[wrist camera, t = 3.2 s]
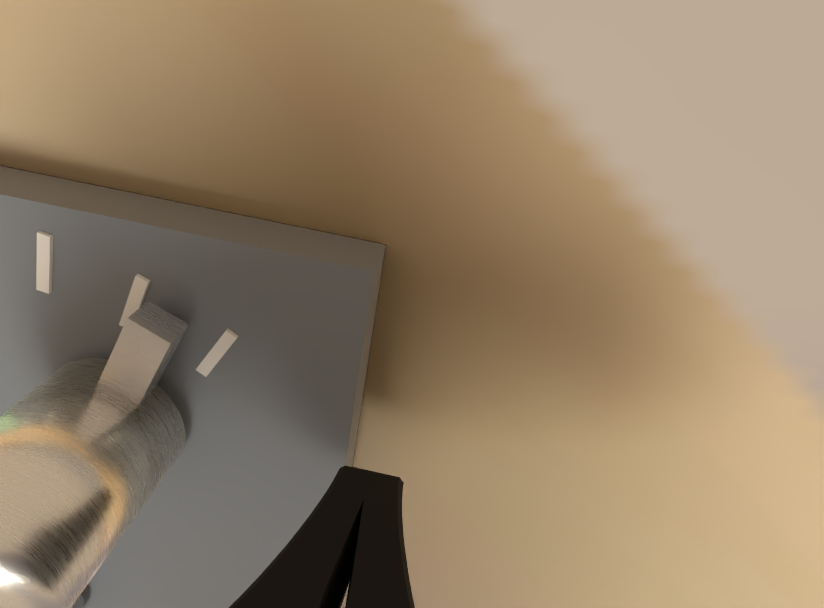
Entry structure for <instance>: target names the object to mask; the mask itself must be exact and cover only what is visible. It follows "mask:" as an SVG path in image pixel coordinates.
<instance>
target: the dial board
mask: <svg viewBox="0 0 824 608" xmlns="http://www.w3.org/2000/svg"><path fill="white" fill-rule="evenodd" d="M385 247H386V245H384V244H380V243H375V242H370V241H365V240H360V239H355V238H350V237H345V236H340V235H336V234H331V233H326V232H321V231H316V230H311V229H306V228H301V227H296V226H292V225H287V224H282V223H277V222H272V221H267V220H262V219H257V218H253V217H248V216H243V215H238V214H233V213H228V212H223V211H218V210H213V209H209V208H204V207H199V206H194V205H189V204H184V203H179V202H174V201H169V200H165V199H160V198H155V197H150V196H145V195H140V194H135V193H130V192H126V191H121V190H116V189H111V188H106V187H101V186H96V185H91V184H86V183H82V182H77V181H72V180H67V179H62V178H57V177H52V176H47V175H42V174H38V173H33V172H28V171H23V170H18V169H13V168H8V167H3V166H0V416H2V415H3V414H4V413H5V412H6V411H8V410H9V409H10V408H11V407H13V406H14V405H15V404H16V403H17V402H19V401H20V400H21V399H22V398H24V397H25V396H26V395H27V394H28V393H30V392H31V391H32V390H33V389H34V388H36V387H37V386H38V385H39V384H41V383H42V382H43V381H44V380H45V379H47V378H48V377H49V376H50V375H52V374H53V373H54V372H55V371H56V370H58V369H59V368H60V367H61V366H63V365H65V364H66V363H68V362H71V361H74V360H78V359H83V358H99V359H106V360H109V357H110V355H111V353H112V351H113V348H114V346H115V344H116V342H117V340H118V337H119V335H120V333H121V331H122V329H123V326H124V324H125V322H126V320H127V318H128V317H129V316H130V315H132V314H133V313H134V312H135V311H136V310H138V309H139V308H140V307H141V306H142V305H144V304H145V303H146V302H147V301H148V300H149V301H150V302H152V303H154V304H155V305H157V306H159V307H160V308H162V309H164V310H165V311H167V312H169V313H170V314H172V315H174V316H175V317H177V318H179V319H180V320H182V321H184V322H185V323H187V324H189V326H188V328H187V330H186V332H185V334H184V335H183V337H182V339H181V341H180V343H179V345H178V347H177V349H176V351H175V352H174V354H173V356H172V358H171V360H170V362H169V364H168V366H167V368H166V369H165V371H164V373H163V375H162V377H161V379H160V381H159V383H158V386H159V387H160V388H161V389H163V390H164V392H165V393H166V394H167V395H168V396H169V397H170V398H171V400H172V401H173V403H174V404H175V406H176V407H177V409H178V411H179V413H180V415H181V418H182V420H183V424H184V428H185V443H184V447H183V450H182V452H181V454H180V455H179V457H178V458H177V459H176V461H175V462H174V464H173V465H172V467H171V468H170V469H169V471H168V472H167V474H166V475H165V476H164V478H163V479H162V481H161V482H160V483H159V485H158V486H157V488H156V489H155V490H154V492H153V493H152V495H151V496H150V497H149V499H148V500H147V502H146V503H145V504H144V506H143V507H142V509H141V510H140V512H139V513H138V514H137V516H136V517H135V519H134V520H133V521H132V523H131V524H130V526H129V527H128V528H127V530H126V531H125V533H124V534H123V535H122V537H121V538H120V540H119V541H118V542H117V544H116V545H115V547H114V548H113V549H112V551H111V552H110V554H109V555H108V557H107V558H106V559H105V561H104V562H103V564H102V565H101V566H100V568H99V569H98V571H97V572H96V573H95V575H94V576H93V578H92V579H91V580H90V582H89V583H88V585H87V586H86V587H85V589H84V590H83V592H82V593H81V595H82V597H83V600H84V608H229V607H230V606H231V605H232V604H233V603H234V602H235V601H236V600H237V599H238V598H239V597H240V596H241V595H242V594H243V593H244V592H245V591H246V590H247V589H248V588H249V587H250V585H251V584H252V583H253V582H254V581H255V580H256V579H257V578H258V577H259V576H260V575H261V574H262V573H263V571H264V570H265V569H266V568H267V567H268V566H269V565H270V563H271V562H272V561H273V560H274V559H275V558H276V556H277V555H278V554H279V553H280V552H281V551H282V550H283V548H284V547H285V546H286V545H287V544H288V543H289V541H290V540H291V539H292V538H293V536H294V535H295V534H296V532H297V531H298V530H299V529H300V527H301V526H302V525H303V523H304V522H305V521H306V519H307V518H308V517H309V516H310V514H311V513H312V511H313V510H314V509H315V507H316V506H317V504H318V503H319V502H320V500H321V499H322V497H323V496H324V494H325V493H326V491H327V490H328V488H329V486H330V485H331V483H332V481H333V480H334V478H335V476H336V474H337V472H338V470H339V468H341V467H343V466H350V467H352V465H353V458H354V451H355V445H356V438H357V432H358V425H359V418H360V412H361V405H362V399H363V392H364V385H365V379H366V372H367V366H368V359H369V352H370V346H371V339H372V333H373V326H374V319H375V313H376V306H377V299H378V293H379V286H380V280H381V273H382V266H383V260H384V253H385Z"/></svg>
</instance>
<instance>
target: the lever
mask: <svg viewBox="0 0 824 608" xmlns="http://www.w3.org/2000/svg"><path fill="white" fill-rule="evenodd" d="M188 326H189V324H187V323H185V322H184V321H182V320H180V319H179V318H177V317H175V316H174V315H172V314H170V313H169V312H167V311H165V310H164V309H162V308H160V307H159V306H157V305H155V304H154V303H152V302H150V301H149V300H148V301H147V302H146V303H145V304H144V305H142V306H141V307H140V308H139V309H138V310H136V311H135V312H134V313H133V314H132V315H130V316H129V317H128V318H127V320H126V322H125V324H124V326H123V329H122V331H121V333H120V335H119V337H118V340H117V342H116V344H115V346H114V348H113V351H112V353H111V355H110V357H109V360H106V359H99V358H83V359H78V360H74V361H71V362H68V363H66V364H65V365H63V366H61V367H60V368H59V369H58V370H56V371H55V372H54V373H53V374H52V375H50V376H49V377H48V378H47V379H45V380H44V381H43V382H42V383H41V384H39V385H38V386H37V387H36V388H34V389H33V390H32V391H31V392H30V393H28V394H27V395H26V396H25V397H24V398H22V399H21V400H20V401H19V402H17V403H16V404H15V405H14V406H13V407H11V408H10V409H9V410H8V411H6V412H5V413H4V414H3V415H2V416H0V608H84V600H83V597H82V595H81V593H82V592H83V590H84V589H85V587H86V586H87V585H88V583H89V582H90V580H91V579H92V578H93V576H94V575H95V573H96V572H97V571H98V569H99V568H100V566H101V565H102V564H103V562H104V561H105V559H106V558H107V557H108V555H109V554H110V552H111V551H112V549H113V548H114V547H115V545H116V544H117V542H118V541H119V540H120V538H121V537H122V535H123V534H124V533H125V531H126V530H127V528H128V527H129V526H130V524H131V523H132V521H133V520H134V519H135V517H136V516H137V514H138V513H139V512H140V510H141V509H142V507H143V506H144V504H145V503H146V502H147V500H148V499H149V497H150V496H151V495H152V493H153V492H154V490H155V489H156V488H157V486H158V485H159V483H160V482H161V481H162V479H163V478H164V476H165V475H166V474H167V472H168V471H169V469H170V468H171V467H172V465H173V464H174V462H175V461H176V459H177V458H178V457H179V455H180V454H181V452H182V450H183V447H184V443H185V428H184V424H183V420H182V418H181V415H180V413H179V411H178V409H177V407H176V406H175V404H174V403H173V401H172V400H171V398H170V397H169V396H168V395H167V394H166V393H165V392H164V390H163V389H161V388H160V387H159V386H158V383H159V381H160V379H161V377H162V375H163V373H164V371H165V369H166V368H167V366H168V364H169V362H170V360H171V358H172V356H173V354H174V352H175V351H176V349H177V347H178V345H179V343H180V341H181V339H182V337H183V335H184V334H185V332H186V330H187V328H188Z"/></svg>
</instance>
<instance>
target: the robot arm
mask: <svg viewBox="0 0 824 608" xmlns="http://www.w3.org/2000/svg"><path fill="white" fill-rule="evenodd" d="M402 490H403V481H402V480H401V479H400V478H399V477H395V476H390V475H386V474H381V473H377V472H372V471H368V470H363V469H359V468H354V467H350V466H343V467H341V468H339V470H338V472H337V474H336V476H335V478H334V480H333V481H332V483H331V485H330V486H329V488H328V490H327V491H326V493H325V494H324V496H323V497H322V499H321V500H320V502H319V503H318V504H317V506H316V507H315V509H314V510H313V511H312V513H311V514H310V516H309V517H308V518H307V519H306V521H305V522H304V523H303V525H302V526H301V527H300V529H299V530H298V531H297V532H296V534H295V535H294V536H293V538H292V539H291V540H290V541H289V543H288V544H287V545H286V546H285V547H284V548H283V550H282V551H281V552H280V553H279V554H278V555H277V556H276V558H275V559H274V560H273V561H272V562H271V563H270V565H269V566H268V567H267V568H266V569H265V570H264V571H263V573H262V574H261V575H260V576H259V577H258V578H257V579H256V580H255V581H254V582H253V583H252V584H251V585H250V587H249V588H248V589H247V590H246V591H245V592H244V593H243V594H242V595H241V596H240V597H239V598H238V599H237V600H236V601H235V602H234V603H233V604H232V605H231V606H230V607H229V608H341V605H342V602H343V599H344V596H345V593H346V590H347V587H348V584H349V588H348V595H347V601H346V607H345V608H415V607H414V602H413V597H412V592H411V586H410V581H409V575H408V568H407V561H406V554H405V546H404V537H403V523H402ZM349 581H350V582H349Z"/></svg>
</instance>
